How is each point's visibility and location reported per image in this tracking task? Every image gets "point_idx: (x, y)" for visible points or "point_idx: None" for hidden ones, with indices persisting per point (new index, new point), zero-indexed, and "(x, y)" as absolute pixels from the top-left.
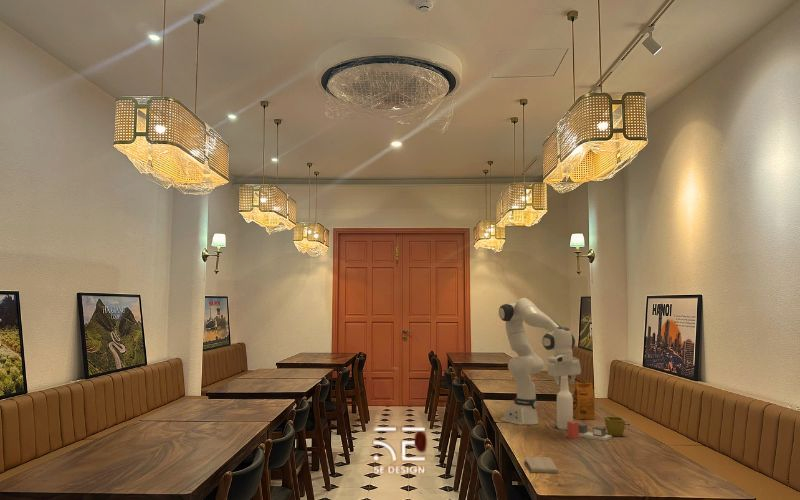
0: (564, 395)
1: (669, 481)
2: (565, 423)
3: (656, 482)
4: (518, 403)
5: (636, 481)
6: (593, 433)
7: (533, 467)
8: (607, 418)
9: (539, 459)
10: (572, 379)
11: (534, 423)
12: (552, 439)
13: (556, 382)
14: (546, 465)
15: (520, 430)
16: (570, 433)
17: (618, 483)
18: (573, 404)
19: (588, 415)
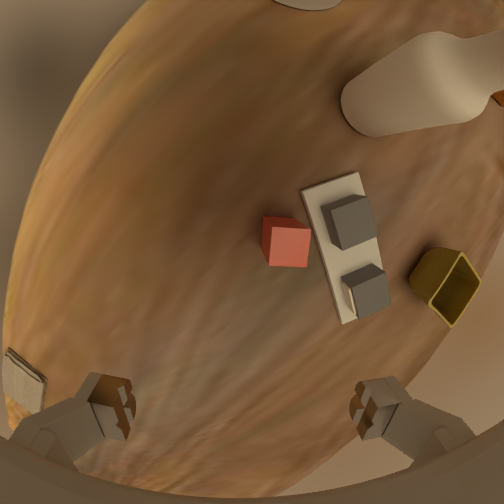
0: (441, 90)
1: (186, 493)
2: (360, 122)
3: (164, 489)
4: None
5: (138, 479)
6: (343, 280)
7: (7, 394)
8: (442, 284)
9: (22, 379)
10: (397, 433)
11: (302, 7)
12: (177, 218)
13: (84, 397)
14: (25, 404)
15: (173, 48)
16: (264, 237)
17: (108, 471)
18: None
19: (499, 94)
